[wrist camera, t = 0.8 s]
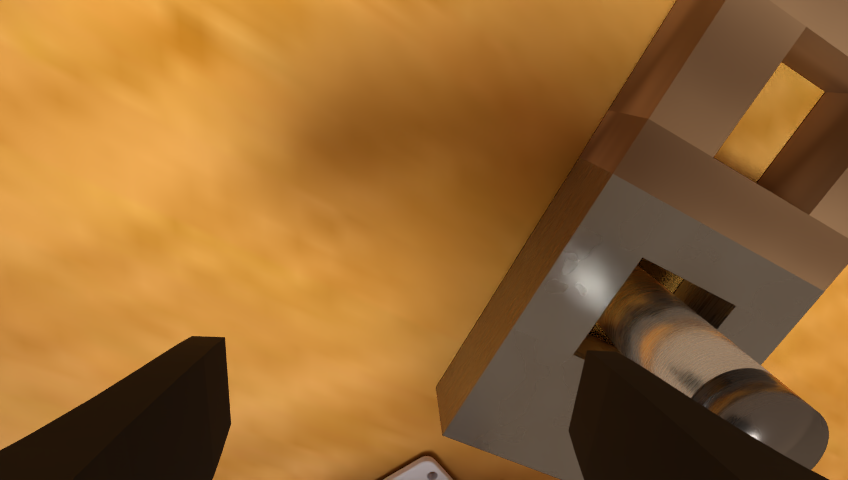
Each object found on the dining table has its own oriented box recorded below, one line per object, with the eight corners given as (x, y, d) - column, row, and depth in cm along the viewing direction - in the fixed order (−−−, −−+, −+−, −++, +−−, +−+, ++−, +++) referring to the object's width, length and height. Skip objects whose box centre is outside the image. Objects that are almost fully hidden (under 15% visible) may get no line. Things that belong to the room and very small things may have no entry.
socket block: (608, 456, 24) (637, 507, 21) (435, 387, 22) (442, 435, 19) (765, 260, 21) (824, 291, 18) (579, 157, 19) (612, 173, 16)
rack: (765, 260, 21) (824, 291, 18) (579, 157, 19) (612, 173, 16) (984, -12, 17) (1098, -27, 14) (787, -177, 15) (876, -232, 12)
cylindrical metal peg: (662, 301, 21) (842, 458, 13) (603, 335, 22) (739, 510, 13) (634, 250, 20) (808, 383, 12) (572, 287, 21) (698, 442, 12)
